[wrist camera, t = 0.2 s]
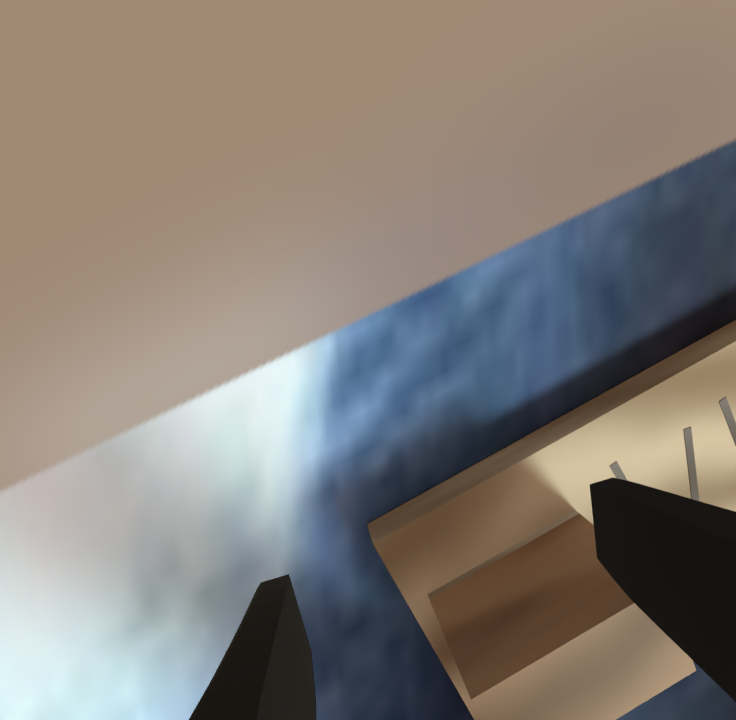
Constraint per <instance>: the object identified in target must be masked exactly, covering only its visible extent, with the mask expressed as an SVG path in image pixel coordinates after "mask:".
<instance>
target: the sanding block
mask: <svg viewBox="0 0 736 720" xmlns="http://www.w3.org/2000/svg"><path fill="white" fill-rule="evenodd" d="M427 595H428V597H429V600H430V602H431V605H432V607H433V609H434V612H435V614H436V617H437V619H438V621H439V624H440V626H441V629H442V631H443V633H444V636H445V638H446V641H447V643H448V645H449V648H450V650H451V653H452V655H453V657H454V660H455V662H456V665H457V667H458V669H459V672H460V674H461V677H462V679H463V681H464V684H465V686H466V689H467V691H468V694H469V696H470V698H471V700H472V702H473V704H474V706H475V707H476V709H477V711H478V713H479V714H480V716H481V718H482V720H616V719H617V718H619V717H621V716H622V715H624V714H626V713H627V712H629V711H630V710H632V709H634V708H635V707H637V706H639V705H640V704H642V703H644V702H645V701H647V700H649V699H650V698H652V697H653V696H655V695H657V694H658V693H660V692H662V691H663V690H665V689H667V688H668V687H670V686H671V685H673V684H675V683H676V682H678V681H680V680H681V679H683V678H685V677H686V676H688V675H690V674H691V673H693V672H694V671H696V668H695V666H694V663H693V660H692V659H691V658H690V657H689V656H688V655H687V654H686V653H685V652H684V651H683V650H682V649H681V648H680V647H679V646H678V645H677V644H676V643H675V642H673V641H672V640H671V639H670V638H669V637H668V636H667V635H666V634H665V633H664V632H663V631H662V630H661V629H660V628H659V627H658V626H657V625H656V624H655V623H654V622H653V621H652V620H651V619H650V618H649V617H648V616H647V615H646V614H645V613H644V612H643V611H642V610H641V609H640V608H639V607H638V606H637V605H636V604H635V603H634V602H633V601H632V600H631V599H630V598H629V597H628V596H627V595H626V593H625V592H624V591H623V590H622V589H621V587H620V586H619V585H618V584H617V583H616V582H615V580H614V579H613V578H612V577H611V575H610V574H609V573H608V572H607V570H606V569H605V568H604V567H603V565H602V564H601V563H600V562H599V560H598V559H597V553H596V543H595V533H594V525H593V524H592V523H591V522H589V521H588V520H587V519H586V518H585V517H583V516H582V515H581V514H580V513H579V512H577V511H576V510H574V511H573V512H571V513H569V514H567V515H566V516H564V517H562V518H560V519H559V520H557V521H555V522H553V523H552V524H550V525H548V526H546V527H545V528H543V529H541V530H539V531H538V532H536V533H534V534H532V535H531V536H529V537H527V538H525V539H524V540H522V541H520V542H518V543H517V544H515V545H513V546H511V547H510V548H508V549H506V550H504V551H503V552H501V553H499V554H497V555H496V556H494V557H492V558H490V559H489V560H487V561H485V562H483V563H482V564H480V565H478V566H476V567H475V568H473V569H471V570H469V571H468V572H466V573H464V574H462V575H461V576H459V577H457V578H455V579H454V580H452V581H450V582H448V583H447V584H445V585H443V586H441V587H440V588H438V589H436V590H434V591H433V592H431V593H429V594H427Z"/></svg>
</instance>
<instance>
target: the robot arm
mask: <svg viewBox="0 0 736 720" xmlns="http://www.w3.org/2000/svg"><path fill="white" fill-rule="evenodd" d="M589 485H590V494H591V504H592V514H593V524H594V533H595V543H596V553H597V559H598V560H599V562H600V563H601V564H602V565H603V567H604V568H605V569H606V570H607V572H608V573H609V574H610V575H611V577H612V578H613V579H614V580H615V582H616V583H617V584H618V585H619V586H620V587H621V589H622V590H623V591H624V592H625V593H626V595H627V596H628V597H629V598H630V599H631V600H632V601H633V602H634V603H635V604H636V605H637V606H638V607H639V608H640V609H641V610H642V611H643V612H644V613H645V614H646V615H647V616H648V617H649V618H650V619H651V620H652V621H653V622H654V623H655V624H656V625H657V626H658V627H659V628H660V629H661V630H662V631H663V632H664V633H665V634H666V635H667V636H668V637H669V638H670V639H671V640H672V641H673V642H675V643H676V644H677V645H678V646H679V647H680V648H681V649H682V650H683V651H684V652H685V653H686V654H687V655H688V656H689V657H690V658H691V659H692V660H693V661H694V662H695V663H696V664H697V665H698V666H699V667H700V668H701V669H702V670H703V671H704V672H706V673H707V674H708V675H709V676H710V677H711V678H712V679H713V680H714V681H715V682H716V683H717V684H718V685H719V686H720V687H721V688H722V689H723V690H724V691H725V692H726V693H727V694H728V695H729V696H730V697H731V698H732V699H733V700H734V701H735V702H736V512H735V511H732V510H728V509H725V508H721V507H718V506H714V505H711V504H707V503H704V502H700V501H697V500H693V499H690V498H687V497H683V496H680V495H676V494H673V493H670V492H666V491H663V490H659V489H656V488H652V487H649V486H645V485H642V484H638V483H634V482H631V481H627V480H622V479H618V478H613V477H612V478H609V479H606V480H602V481H599V482H596V483H592V484H589ZM189 720H316V696H315V685H314V674H313V664H312V653H311V648H310V645H309V641H308V638H307V635H306V631H305V628H304V624H303V621H302V617H301V614H300V611H299V607H298V604H297V600H296V597H295V594H294V590H293V587H292V583H291V580H290V576H289V574H288V575H285V576H282V577H278V578H275V579H272V580H268V581H265V582H262V583H261V584H260V585H259V587H258V588H257V590H256V592H255V594H254V597H253V599H252V601H251V603H250V605H249V607H248V609H247V611H246V614H245V616H244V618H243V620H242V622H241V624H240V626H239V628H238V630H237V632H236V634H235V636H234V638H233V640H232V642H231V644H230V646H229V648H228V650H227V652H226V654H225V655H224V657H223V659H222V661H221V663H220V665H219V667H218V669H217V671H216V673H215V675H214V676H213V678H212V680H211V682H210V684H209V686H208V687H207V689H206V691H205V693H204V694H203V696H202V698H201V699H200V701H199V703H198V705H197V706H196V708H195V710H194V712H193V713H192V715H191V717H190V719H189Z"/></svg>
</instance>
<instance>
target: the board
mask: <svg viewBox="0 0 736 720" xmlns="http://www.w3.org/2000/svg"><path fill="white" fill-rule="evenodd" d="M612 477H613V478H618V479H622V480H627V481H631V482H634V483H638V484H642V485H645V486H649V487H652V488H656V489H659V490H663V491H666V492H670V493H673V494H676V495H680V496H683V497H687V498H690V499H693V500H697V501H700V502H704V503H707V504H711V505H714V506H718V507H721V508H725V509H728V510H732V511H735V512H736V320H735V321H733V322H731V323H729V324H727V325H725V326H724V327H722V328H720V329H718V330H716V331H715V332H713V333H711V334H709V335H707V336H706V337H704V338H702V339H700V340H698V341H697V342H695V343H693V344H691V345H689V346H688V347H686V348H684V349H682V350H680V351H679V352H677V353H675V354H673V355H671V356H670V357H668V358H666V359H664V360H662V361H661V362H659V363H657V364H655V365H653V366H652V367H650V368H648V369H646V370H644V371H642V372H641V373H639V374H637V375H635V376H633V377H632V378H630V379H628V380H626V381H624V382H623V383H621V384H619V385H617V386H615V387H614V388H612V389H610V390H608V391H606V392H605V393H603V394H601V395H599V396H597V397H596V398H594V399H592V400H590V401H588V402H587V403H585V404H583V405H581V406H579V407H578V408H576V409H574V410H572V411H570V412H568V413H567V414H565V415H563V416H561V417H559V418H558V419H556V420H554V421H552V422H550V423H549V424H547V425H545V426H543V427H541V428H540V429H538V430H536V431H534V432H532V433H531V434H529V435H527V436H525V437H523V438H522V439H520V440H518V441H516V442H514V443H513V444H511V445H509V446H507V447H505V448H504V449H502V450H500V451H498V452H496V453H495V454H493V455H491V456H489V457H487V458H485V459H484V460H482V461H480V462H478V463H476V464H475V465H473V466H471V467H469V468H467V469H466V470H464V471H462V472H460V473H458V474H457V475H455V476H453V477H451V478H449V479H448V480H446V481H444V482H442V483H440V484H439V485H437V486H435V487H433V488H431V489H430V490H428V491H426V492H424V493H422V494H421V495H419V496H417V497H415V498H413V499H411V500H410V501H408V502H406V503H404V504H402V505H401V506H399V507H397V508H395V509H393V510H392V511H390V512H388V513H386V514H384V515H383V516H381V517H379V518H377V519H375V520H374V521H372V522H370V523H368V524H367V526H368V529H369V533H370V536H371V540H372V543H373V545H374V547H375V549H376V550H377V552H378V554H379V555H380V557H381V559H382V561H383V562H384V564H385V566H386V568H387V569H388V571H389V573H390V575H391V576H392V578H393V580H394V581H395V583H396V585H397V587H398V588H399V590H400V592H401V594H402V595H403V597H404V599H405V601H406V602H407V604H408V606H409V607H410V609H411V611H412V613H413V614H414V616H415V618H416V620H417V621H418V623H419V625H420V627H421V628H422V630H423V632H424V633H425V635H426V637H427V639H428V640H429V642H430V644H431V646H432V647H433V649H434V651H435V653H436V654H437V656H438V658H439V659H440V661H441V663H442V665H443V666H444V668H445V670H446V672H447V673H448V675H449V677H450V679H451V680H452V682H453V684H454V685H455V687H456V689H457V691H458V692H459V694H460V696H461V698H462V699H463V701H464V703H465V705H466V706H467V708H468V710H469V711H470V713H471V715H472V717H473V718H474V720H482V718H481V716H480V714H479V713H478V711H477V709H476V707H475V706H474V704H473V702H472V700H471V698H470V696H469V694H468V691H467V689H466V686H465V684H464V681H463V679H462V677H461V674H460V672H459V669H458V667H457V665H456V662H455V660H454V657H453V655H452V653H451V650H450V648H449V645H448V643H447V641H446V638H445V636H444V633H443V631H442V629H441V626H440V624H439V621H438V619H437V617H436V614H435V612H434V609H433V607H432V605H431V602H430V600H429V597H428V595H427V594H429V593H431V592H433V591H434V590H436V589H438V588H440V587H441V586H443V585H445V584H447V583H448V582H450V581H452V580H454V579H455V578H457V577H459V576H461V575H462V574H464V573H466V572H468V571H469V570H471V569H473V568H475V567H476V566H478V565H480V564H482V563H483V562H485V561H487V560H489V559H490V558H492V557H494V556H496V555H497V554H499V553H501V552H503V551H504V550H506V549H508V548H510V547H511V546H513V545H515V544H517V543H518V542H520V541H522V540H524V539H525V538H527V537H529V536H531V535H532V534H534V533H536V532H538V531H539V530H541V529H543V528H545V527H546V526H548V525H550V524H552V523H553V522H555V521H557V520H559V519H560V518H562V517H564V516H566V515H567V514H569V513H571V512H573V511H574V510H576V511H577V512H579V513H580V514H581V515H582V516H583V517H585V518H586V519H587V520H588V521H589V522H591V523H592V524H593V514H592V504H591V494H590V485H589V484H592V483H596V482H599V481H602V480H606V479H609V478H612ZM593 525H594V524H593Z"/></svg>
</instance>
